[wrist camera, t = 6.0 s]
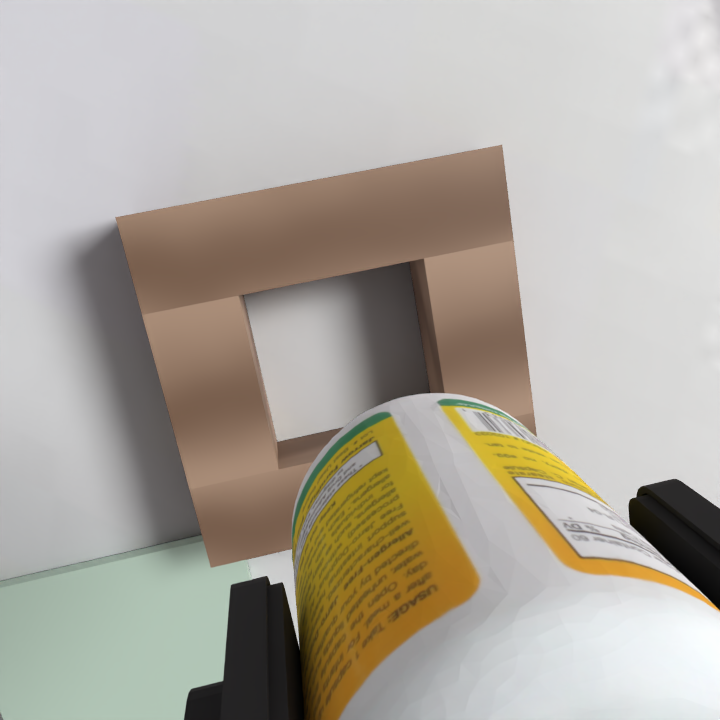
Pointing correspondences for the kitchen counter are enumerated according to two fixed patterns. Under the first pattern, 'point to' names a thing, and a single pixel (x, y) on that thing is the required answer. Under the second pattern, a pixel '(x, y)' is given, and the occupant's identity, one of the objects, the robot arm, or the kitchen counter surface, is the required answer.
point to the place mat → (115, 635)
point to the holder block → (308, 263)
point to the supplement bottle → (484, 582)
